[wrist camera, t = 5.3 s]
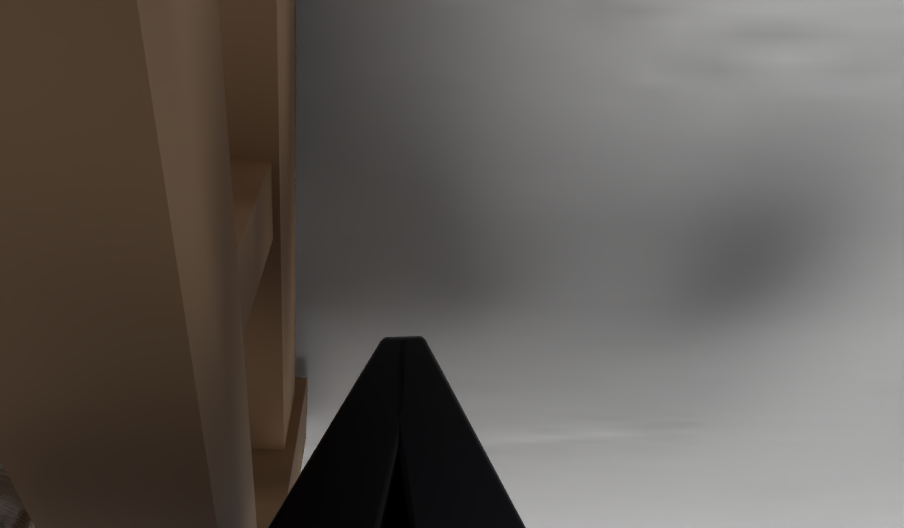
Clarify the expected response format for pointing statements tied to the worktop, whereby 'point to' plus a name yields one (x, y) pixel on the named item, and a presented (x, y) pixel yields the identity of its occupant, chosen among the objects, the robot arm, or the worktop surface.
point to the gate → (149, 261)
